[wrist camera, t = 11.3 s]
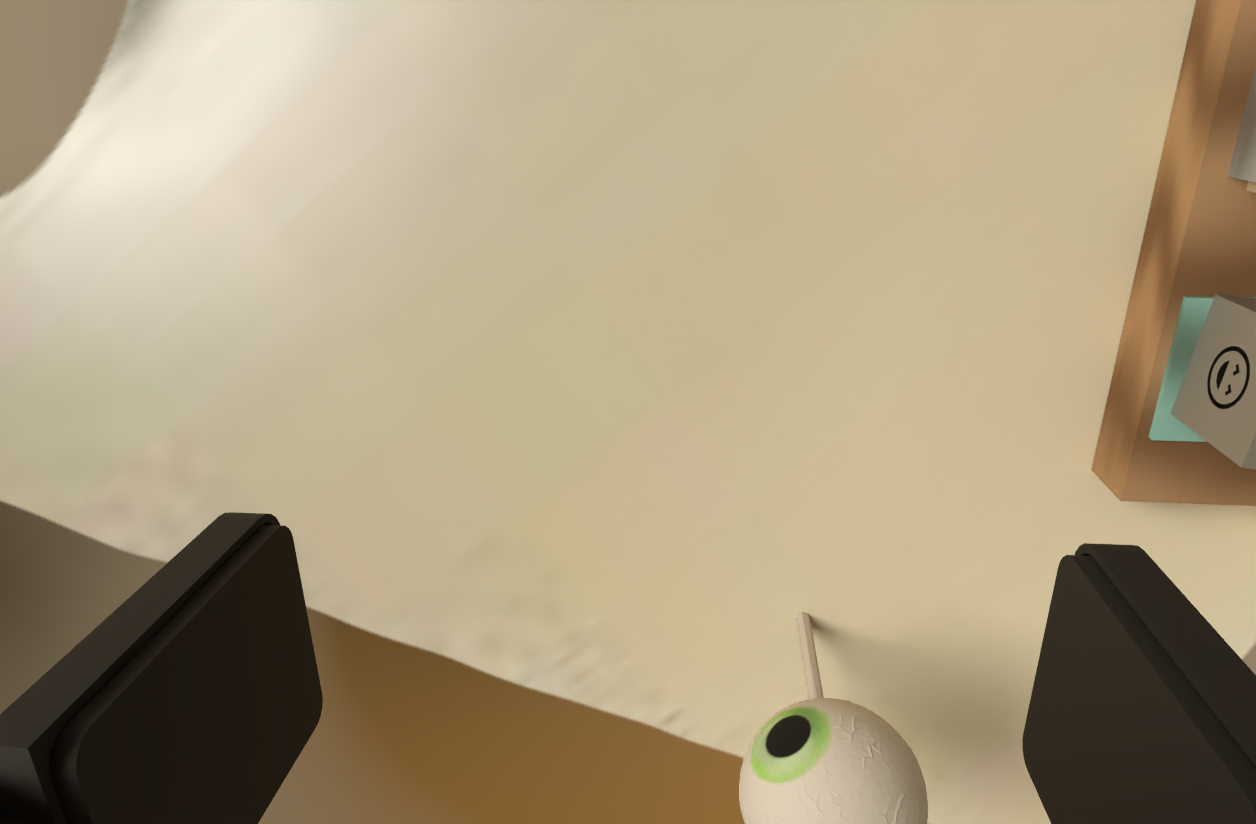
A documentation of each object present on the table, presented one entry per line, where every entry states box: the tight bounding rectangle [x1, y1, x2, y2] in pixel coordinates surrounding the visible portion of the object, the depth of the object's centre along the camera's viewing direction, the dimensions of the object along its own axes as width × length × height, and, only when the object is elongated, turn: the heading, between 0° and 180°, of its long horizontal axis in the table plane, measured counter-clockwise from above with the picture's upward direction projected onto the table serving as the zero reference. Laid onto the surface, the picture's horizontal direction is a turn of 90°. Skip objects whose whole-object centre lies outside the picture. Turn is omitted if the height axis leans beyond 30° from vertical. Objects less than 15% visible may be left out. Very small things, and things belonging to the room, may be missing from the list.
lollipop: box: [739, 613, 928, 824], centre depth 37 cm, size 7×7×15 cm
